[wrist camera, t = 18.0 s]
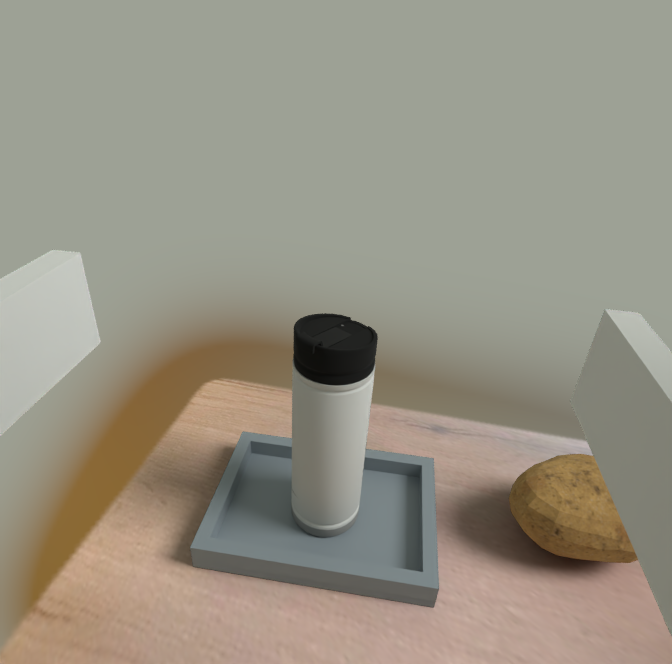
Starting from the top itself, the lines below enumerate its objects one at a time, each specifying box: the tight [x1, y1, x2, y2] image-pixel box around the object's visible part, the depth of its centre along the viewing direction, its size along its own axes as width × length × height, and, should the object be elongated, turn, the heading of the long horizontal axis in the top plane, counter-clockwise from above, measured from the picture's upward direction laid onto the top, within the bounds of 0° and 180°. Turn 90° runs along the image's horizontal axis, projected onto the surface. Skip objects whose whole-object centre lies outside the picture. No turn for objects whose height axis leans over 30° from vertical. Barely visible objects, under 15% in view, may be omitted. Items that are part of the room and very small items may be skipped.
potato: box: [509, 454, 638, 563], centre depth 43 cm, size 10×14×8 cm
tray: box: [190, 432, 439, 607], centre depth 45 cm, size 20×14×2 cm
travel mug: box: [291, 314, 377, 537], centre depth 40 cm, size 6×7×20 cm
